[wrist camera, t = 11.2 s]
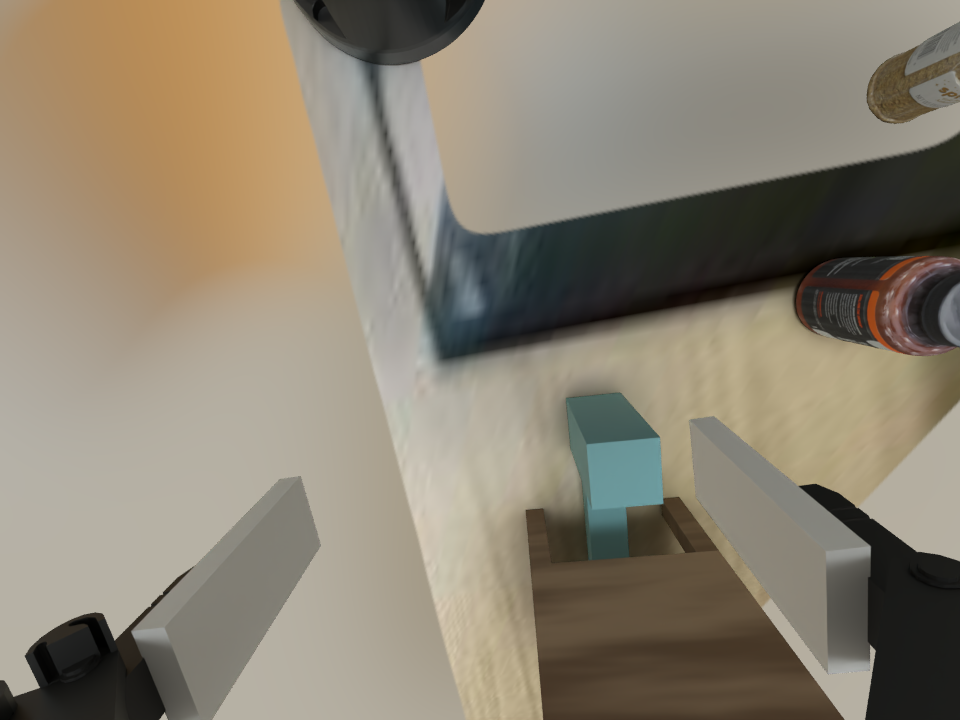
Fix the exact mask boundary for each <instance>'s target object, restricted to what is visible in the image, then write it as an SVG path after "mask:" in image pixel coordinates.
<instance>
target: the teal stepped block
mask: <svg viewBox="0 0 960 720" xmlns="http://www.w3.org/2000/svg"><path fill="white" fill-rule="evenodd" d="M566 404H567V415H568V426H569V438H570V448H571V451H572V454H573V457H574V460H575V463H576V466H577V468H578V471H579V474H580V477H581V480H582V489H583V501H584V512H585V524H586V536H587V547H588V559H589V560H600V559H613V558H627V557H629V545H628V530H627V515H626V507H632V506H644V505H656V504H663V487H662V467H661V447H660V437H659V436H658V435H657V433H656V432H655V431H654V430H653V429H652V428H651V427H650V426H649V424H648V423H647V422H646V421H645V420H644V419H643V418H642V417H641V415H640V414H639V413H638V412H637V411H636V410H635V409H634V407H633V406H632V405H631V404H630V403H629V402H628V401H627V400H626V398H625V397H624V396H623V395H622V394H621V393H612V394H602V395H592V396H582V397H573V398H566Z"/></svg>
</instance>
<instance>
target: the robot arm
mask: <svg viewBox="0 0 960 720" xmlns="http://www.w3.org/2000/svg"><path fill="white" fill-rule="evenodd" d="M293 1H294V2H295V3H296V5H297V6H298V8H299V9H300V10H301V11H302V13H303V14H304V15H305V16H306V18H307V19H308V20H309V21H310V23H311V24H312V25H313V26H314V28H315V29H316V30H317V31H318V32H319V33H320V34H321V35H322V36H323V37H324V38H325V39H327V40H328V41H329V42H330V43H331V44H333V45H334V46H336V47H337V48H338V49H340V50H342V51H343V52H345V53H347V54H349V55H351V56H353V57H356V58H358V59H361V60H365V61H368V62H372V63H378V64H404V63H410V62H414V61H418V60H421V59H424V58H426V57H429V56H431V55H433V54H435V53H437V52H438V51H440V50H442V49H444V48H445V47H446V46H448V45H449V44H451V43H452V42H453V41H454V40H456V39H457V38H458V37H459V36H460V35H461V34H462V33H463V32H464V31H465V30H466V28H467V27H468V26H469V25H470V23H471V22H472V21H473V20H474V18H475V17H476V15H477V14H478V12H479V10H480V9H481V7H482V5H483V3H484V1H485V0H293ZM689 423H690V435H691V447H692V458H693V470H694V481H695V493H696V498H697V499H698V501H699V502H700V503H701V505H702V506H703V507H704V509H705V510H706V511H707V513H708V514H709V515H710V517H711V518H712V519H713V521H714V522H715V523H716V525H717V526H718V527H719V529H720V530H721V531H722V533H723V534H724V535H725V537H726V538H727V539H728V541H729V542H730V543H731V545H732V546H733V548H734V549H735V550H736V552H737V553H738V554H739V556H740V557H741V558H742V560H743V561H744V562H745V564H746V565H747V566H748V568H749V569H750V570H751V572H752V573H753V574H754V576H755V577H756V578H757V580H758V581H759V582H760V584H761V585H762V586H763V588H764V589H765V590H766V592H767V593H768V594H769V596H770V597H771V598H772V600H773V601H774V603H775V604H776V605H777V607H778V608H779V609H780V611H781V612H782V613H783V615H784V616H785V617H786V619H787V620H788V621H789V622H790V624H791V625H792V627H793V628H794V629H795V631H796V632H797V633H798V634H799V636H800V637H801V639H802V640H803V641H804V643H805V644H806V645H807V647H808V648H809V649H810V651H811V652H812V653H813V655H814V656H815V658H816V659H817V660H818V661H819V663H820V664H821V666H822V667H823V668H824V670H825V671H826V672H827V674H836V673H847V672H858V671H869V670H870V645H871V646H872V647H873V648H874V649H875V650H876V653H875V659H874V666H873V672H872V679H871V686H870V692H869V699H868V705H867V712H866V718H865V720H960V561H957V560H954V559H951V558H947V557H944V556H941V555H936V554H930V553H923V552H916V551H915V550H914V549H912V548H911V547H910V546H908V545H907V544H906V543H904V542H903V541H902V540H900V539H899V538H898V537H896V536H895V535H894V534H892V533H891V532H890V531H888V530H887V529H886V528H884V527H883V526H882V525H880V524H879V523H877V522H876V521H875V520H874V519H870V518H869V516H868V515H867V514H865V513H864V512H863V511H862V510H860V509H859V508H856V507H855V505H854V504H852V503H851V502H850V501H848V500H847V499H846V498H844V497H843V496H842V495H840V494H839V493H837V492H834V491H832V490H830V489H827V488H825V487H822V486H820V485H817V484H810V485H803V486H797V485H796V484H795V483H794V482H793V481H791V480H790V479H789V478H788V477H787V476H785V475H784V474H783V473H782V472H781V471H779V470H778V469H777V468H776V467H774V466H773V465H772V464H771V463H770V462H768V461H767V460H766V459H765V458H764V457H762V456H761V455H760V454H759V453H758V452H756V451H755V450H754V449H753V448H752V447H750V446H749V445H748V444H747V443H746V442H744V441H743V440H742V439H741V438H740V437H738V436H737V435H736V434H735V433H734V432H732V431H731V430H730V429H729V428H728V427H726V426H725V425H724V424H723V423H721V422H720V421H719V420H718V419H717V418H715V417H714V416H712V417H705V418H698V419H691V420H689ZM320 546H321V544H320V540H319V538H318V534H317V530H316V527H315V524H314V520H313V517H312V514H311V510H310V506H309V503H308V500H307V496H306V493H305V490H304V486H303V483H302V479H301V476H298V477H292V478H284V479H280V480H279V481H278V482H277V483H276V484H275V485H274V486H273V487H272V488H271V489H270V490H269V491H268V492H267V493H266V494H265V495H264V496H263V497H262V498H261V499H260V500H259V501H258V502H257V503H256V504H255V505H254V506H253V507H252V508H251V509H250V510H249V511H248V512H247V513H246V514H245V515H244V516H243V517H242V518H241V519H240V520H239V521H238V522H237V523H236V525H235V526H234V527H233V528H232V529H231V530H230V531H229V532H228V533H227V534H226V535H225V536H224V537H223V538H222V539H221V540H220V541H219V542H218V543H217V544H216V545H215V546H214V547H213V548H212V549H211V550H210V551H209V552H208V553H207V554H206V555H205V556H204V557H203V558H202V559H201V560H200V561H199V562H198V563H197V564H196V565H195V566H194V567H192V568H191V569H190V570H188V571H187V572H185V573H184V574H182V575H181V576H179V577H178V578H177V579H176V580H175V581H174V582H173V583H172V584H171V585H170V586H169V587H168V588H167V589H166V590H165V591H164V592H163V595H160V596H159V597H158V598H157V599H156V600H155V601H154V602H153V603H152V604H151V607H148V608H147V609H146V610H145V611H144V612H143V613H142V614H141V615H140V616H139V617H138V618H137V619H136V620H135V621H134V622H133V623H132V624H131V625H130V626H129V627H128V628H127V629H126V630H125V631H124V632H123V633H122V634H121V635H120V636H119V637H118V638H117V639H116V640H115V641H114V638H113V636H112V634H111V631H110V629H109V627H108V624H107V622H106V620H105V617H104V615H103V614H102V613H90V614H86V615H82V616H79V617H77V618H74V619H72V620H70V621H67V622H65V623H64V624H62V625H60V626H58V627H56V628H54V629H53V630H51V631H50V632H48V633H47V634H46V635H44V636H43V637H41V638H40V639H39V640H38V641H37V642H36V643H35V644H34V645H32V646H31V647H30V649H29V650H28V652H27V653H26V655H25V658H26V660H27V662H28V664H29V665H30V668H31V670H32V672H33V674H34V676H35V678H36V680H37V682H38V684H39V686H40V688H39V689H36V690H33V691H30V692H27V693H24V694H21V695H18V696H15V697H13V695H12V694H11V691H10V690H9V687H8V685H7V684H6V683H5V681H3V680H0V720H159V719H160V718H161V716H162V715H163V714H164V712H165V714H166V716H167V718H168V720H212V719H213V717H214V716H215V714H216V712H217V711H218V709H219V708H220V706H221V704H222V703H223V701H224V700H225V698H226V696H227V695H228V693H229V691H230V690H231V688H232V686H233V685H234V683H235V682H236V680H237V678H238V677H239V676H240V674H241V672H242V671H243V669H244V667H245V666H246V664H247V663H248V661H249V660H250V658H251V656H252V655H253V653H254V652H255V650H256V648H257V647H258V645H259V644H260V642H261V640H262V639H263V637H264V635H265V634H266V632H267V631H268V629H269V628H270V626H271V624H272V623H273V621H274V620H275V618H276V616H277V615H278V613H279V611H280V610H281V608H282V607H283V605H284V603H285V602H286V600H287V599H288V597H289V596H290V594H291V592H292V591H293V589H294V588H295V586H296V584H297V583H298V581H299V580H300V578H301V576H302V575H303V573H304V572H305V570H306V568H307V567H308V565H309V564H310V562H311V560H312V559H313V557H314V556H315V554H316V552H317V551H318V549H319V547H320Z"/></svg>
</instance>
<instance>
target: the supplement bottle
mask: <svg viewBox="0 0 960 720" xmlns="http://www.w3.org/2000/svg"><path fill="white" fill-rule="evenodd" d="M796 308H797V313H798V315H799V318H800V320H801V321H802V323H803V324H804V325H805V326H806V327H807V328H809V329H810V330H811V331H813V332H815V333H817V334H819V335H823V336H826V337H830V338H834V339H839V340H843V341H848V342H853V343H857V344H862V345H867V346H871V347H875V348H880V349H885V350H889V351H894V352H898V353H903V354H907V355H915V356H931V355H938V354H942V353H946V352H948V351H950V350H953V349H954V348H956V347H960V260H959V259H955V258H951V257H943V256H904V257H903V256H901V257H859V258H839V259H833V260H829V261H827V262H824V263H822V264H820V265H818V266H817V267H815V268H814V269H813V270H811V271H810V272H809V273H808V274H807V276H806V277H805V278H804V280H803V281H802V283H801V285H800V287H799V289H798V292H797V297H796Z"/></svg>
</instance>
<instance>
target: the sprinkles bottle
mask: <svg viewBox="0 0 960 720" xmlns="http://www.w3.org/2000/svg"><path fill="white" fill-rule="evenodd" d="M958 102H960V22H959V23H957V24H955V25H953V26H951V27H949V28H947V29H945V30H944V31H942V32H940V33H938V34H936V35H934V36H932V37H931V38H929V39H927V40H926V41H924V42H923V43H922V44H921V45H919V46H917V47H915V48H913V49H911V50H909V51H907V52H905V53H901V54H898V55H896V56H893V57H892V58H890V59H888V60H886V61H885V62H884V63H883V64H881V65H880V66H879V67H878V69H877V70H876V72H875V73H874V74H873V75H872V77H871V79H870V82H869V85H868V90H867V103H868V106H869V109H870V110H871V111H872V113H873V114H874V115H875V116H876V117H877V118H878V119H880V120H881V121H883V122H887V123H894V124H896V123H904V122H908V121H911V120H913V119H914V118H916V117H918V116H920V115H922V114H925V113H927V112H930V111H933V110H936V109H938V108H941V107H946V106H949V105H952V104H955V103H958Z"/></svg>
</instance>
